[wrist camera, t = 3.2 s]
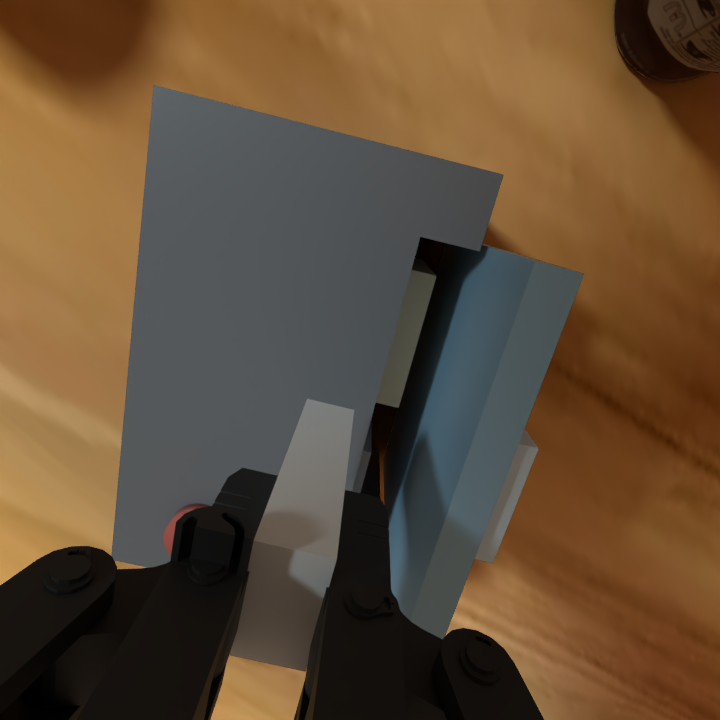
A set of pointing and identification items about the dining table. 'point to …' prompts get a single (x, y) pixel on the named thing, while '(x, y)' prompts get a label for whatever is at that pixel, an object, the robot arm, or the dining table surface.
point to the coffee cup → (669, 37)
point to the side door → (468, 421)
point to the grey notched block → (270, 298)
